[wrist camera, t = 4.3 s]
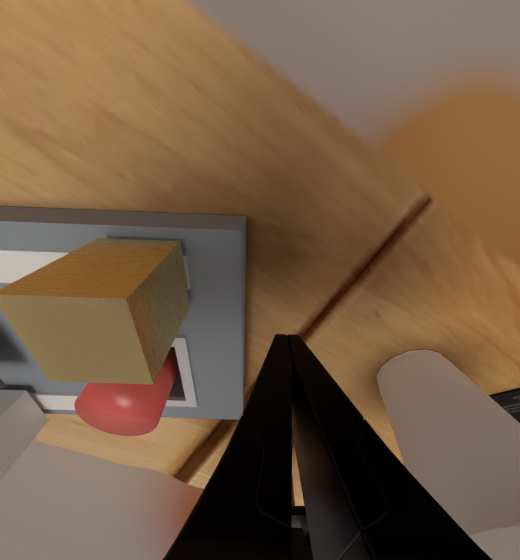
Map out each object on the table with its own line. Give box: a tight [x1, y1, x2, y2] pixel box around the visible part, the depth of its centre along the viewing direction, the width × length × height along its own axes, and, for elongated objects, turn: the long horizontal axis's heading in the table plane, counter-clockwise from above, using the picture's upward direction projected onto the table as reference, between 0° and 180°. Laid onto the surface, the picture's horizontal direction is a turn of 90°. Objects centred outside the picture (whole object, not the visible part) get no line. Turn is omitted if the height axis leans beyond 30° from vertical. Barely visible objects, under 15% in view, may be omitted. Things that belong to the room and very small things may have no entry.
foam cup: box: [376, 349, 520, 560], centre depth 15 cm, size 10×9×13 cm
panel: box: [0, 206, 246, 420], centre depth 16 cm, size 17×22×3 cm
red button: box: [74, 347, 179, 436], centre depth 16 cm, size 5×5×6 cm
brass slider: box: [0, 238, 190, 385], centre depth 10 cm, size 4×4×5 cm
